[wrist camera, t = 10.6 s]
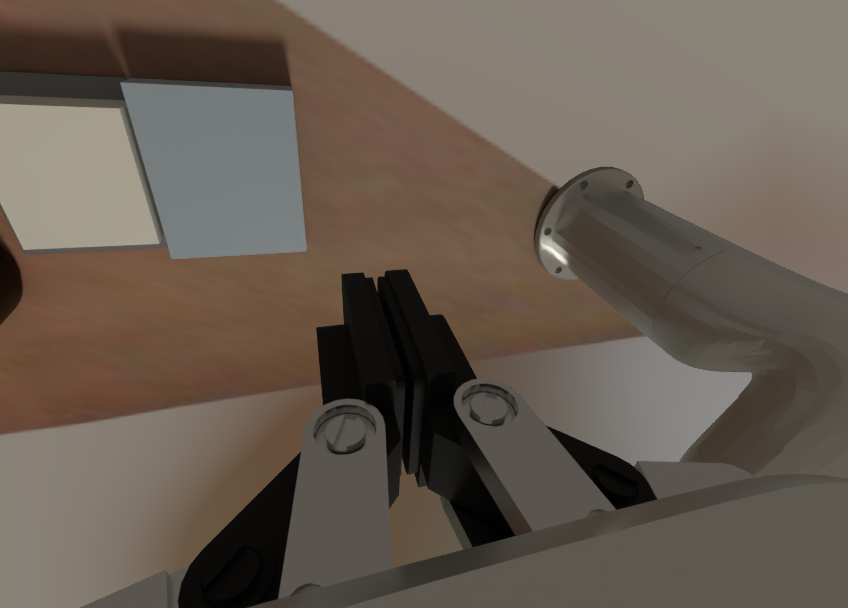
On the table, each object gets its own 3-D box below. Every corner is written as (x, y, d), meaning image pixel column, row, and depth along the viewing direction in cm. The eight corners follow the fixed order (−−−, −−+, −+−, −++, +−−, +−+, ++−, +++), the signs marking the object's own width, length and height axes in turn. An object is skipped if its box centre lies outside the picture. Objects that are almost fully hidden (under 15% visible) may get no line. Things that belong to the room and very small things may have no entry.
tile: (132, 100, 27) (119, 108, 25) (167, 227, 32) (159, 243, 30) (-20, 94, 25) (-51, 102, 22) (43, 231, 30) (23, 249, 27)
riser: (291, 86, 30) (292, 90, 28) (304, 238, 36) (306, 251, 34) (131, 77, 27) (120, 82, 25) (177, 244, 33) (171, 259, 31)
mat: (126, 77, 27) (124, 78, 26) (173, 245, 33) (172, 246, 33) (-67, 67, 24) (-70, 67, 24) (26, 252, 30) (25, 254, 30)
